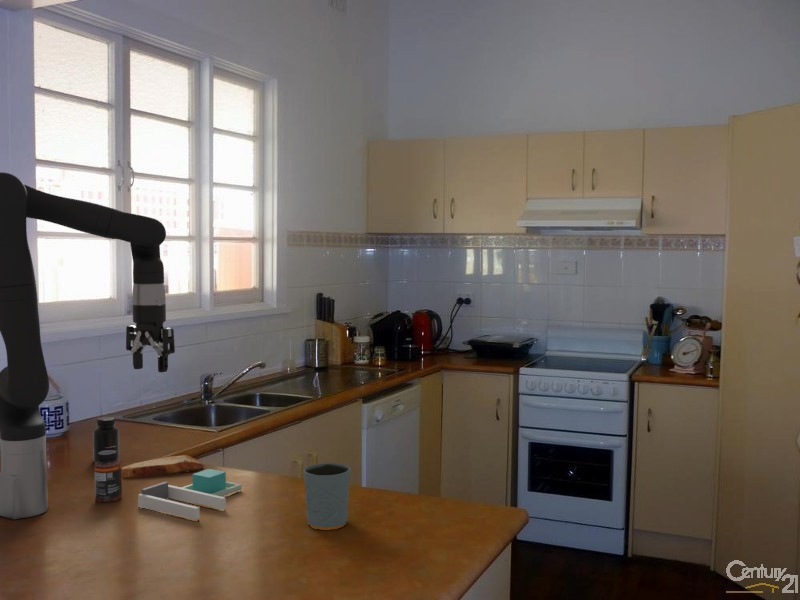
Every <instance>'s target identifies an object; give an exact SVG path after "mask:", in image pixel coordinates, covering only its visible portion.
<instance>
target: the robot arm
mask: <svg viewBox="0 0 800 600" xmlns="http://www.w3.org/2000/svg"><path fill="white" fill-rule="evenodd" d="M27 218H28V219H35V220H39V221H45V222H48V223H53V224H54V225H55V224H56V225H59V226H62V227H66V228H70V229H72V230H75V231H79V232H82V233H85V234H88V235H93V236H96V237H101V238H105V239H110V240H120V241H124V242H126V243H130V249H131V250H130V251H131V258H132V264H133V265H132V285H133V286H132V295H131V296H132V297H131V299H132V322H133V325H126V328H125V329H126V331H125V333H126V334H125V350H126V351H129V352H130V353H131V354H132V366H133V369H134V370H140V369H141V370H142V369H143V368H144V363H143V357H144V354H143V351H144V350H145V348H146V346H150V347H151V348H152V349H153V350H155V351H156V354H157V371H158V373H165V372H168V369H169V355H172V354H175V352H176V350H175V349H176V348H175V347H176V346H175V332H174V328H173V327H171V328H170V327H167V328H164V327H165V326H164V323H165V322H166V320H167V309H166V308H167V306H166V303H167V302H166V300H167V299H166V289H165V284H164V283H165V268H164V263H163V261H162V259H161V247H160V246H161V245H162V244H163V243H164V241H165V239H166V236H167V231H166V228H165V226H164V224H163V223H162V222H161V221H159V220H158V219H156V218H153V217H150V216H145V215H140V214H136V213H130V212H126V211H125V212H124V211H122V210H119V209H116V208H113V207H109V206H105V205H102V204H98V203H95V202H90V201H85V200H82V199H77V198H76V199H75V198H70V197H64V196H59V195H56V194H52V193H47V192H45V191H42V190H38V189H36V188H34V187H31V186H29V185H26V184H25V183H24V182H23V181H22V180H21V179H20V178H18V177H17V176H15V175H14V174H11V173H8V172H3V171H2V172H1V171H0V334H1V337H2V340H3V342H4V346H5V350H6V363H7V365H6V366H5V367H4V368H3V369H1V370H0V517H5V518H7V519H10V520H17V519H18V520H19V519H24V518H30V517H31V518H32V517H35V516H39V515H41V514H42V515H43V514H44V513H45V512H47V511H48V509H49V506H48V505H49V504H48V503H49V501H48V473H47V472H48V468H47V467H48V465H47V461H48V460H47V435H46V434H47V433H46V431H47V430H46V429H47V427H46V423H45V421H44V419H43V417H42V415H41V412H40V411H41V410H40V405H41V404H42V403H43V402H45V400H46V399H47V397H48V395H49V390H50V380H49V375H48V369H47V365H46V361H45V357H44V352H43V347H42V340H41V338H42V337H41V326H40V315H39V302H38V300H39V299H38V291H37V282H36V276H35V269H34V263H33V258H32V254H31V250H30V247H29V246H30V245H29V240H28V232H27ZM135 324H136V325H135Z"/></svg>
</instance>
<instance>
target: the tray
mask: <svg viewBox="0 0 800 600" xmlns="http://www.w3.org/2000/svg"><path fill="white" fill-rule="evenodd" d="M242 486H243V485H242V484H240V483H235V482H231V481H227V480H226V487H228V488H226V489H224V490H221V491H218V492H215V493H213V494H212V495H216V496H221V497H222V496H224V495H227V494H229V493H232V492H235V491H238V490H241V489H243V488H242ZM181 488H185V489H190V490H193V483H191V484H187V485H185V486H182V487H181Z"/></svg>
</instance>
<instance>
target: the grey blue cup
mask: <svg viewBox="0 0 800 600" xmlns="http://www.w3.org/2000/svg"><path fill="white" fill-rule="evenodd" d="M351 470H352V469H351V467H350V466H348V465H346V464H343V463H334V462H333V463H332V462H331V463H330V462H328V463H327V462H326V463H317V464H311V465H308V466H306V467H305V468H304V469H303V479H304V485H305V486H304V488H305V490H304V491H305V504H306V505H305V506H306V519H307V521H308V522H307V521H306V522H307V524H308V523H309V524H311V525H313V526H317V527H323V528H325V527H326V528H327V527H336V526H340V525H343V524H345V523H346V522H347V523H348V520H349V519H348V517H349V509H348V506H349V498H350V496H349V495H350V493H349V491H350V483H351V482H350V481H351Z"/></svg>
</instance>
